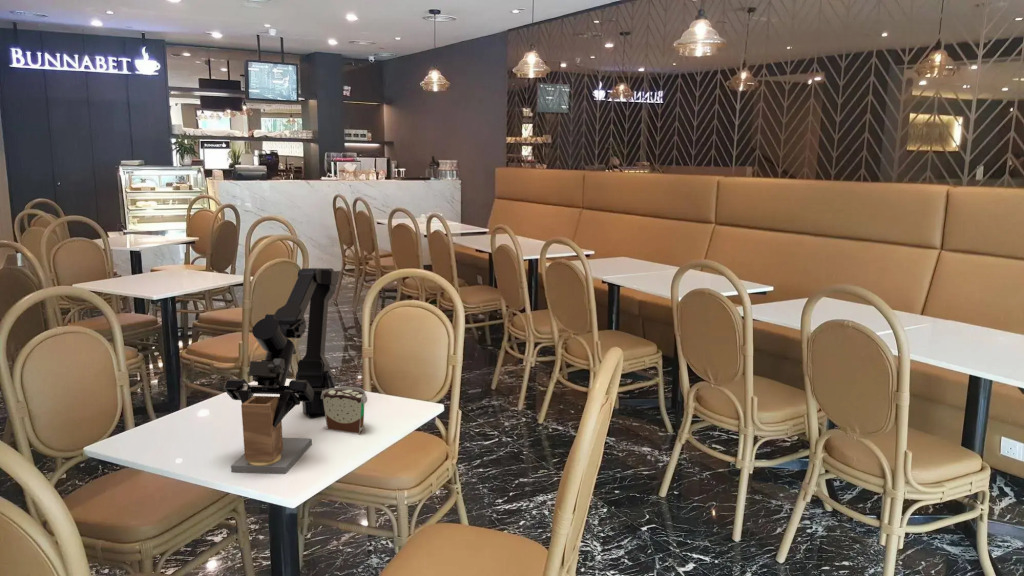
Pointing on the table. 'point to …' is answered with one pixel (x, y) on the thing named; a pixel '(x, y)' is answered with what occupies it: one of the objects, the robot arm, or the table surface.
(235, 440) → the table surface
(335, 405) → the food container
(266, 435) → the wooden pencil cup
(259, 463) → the post stand
